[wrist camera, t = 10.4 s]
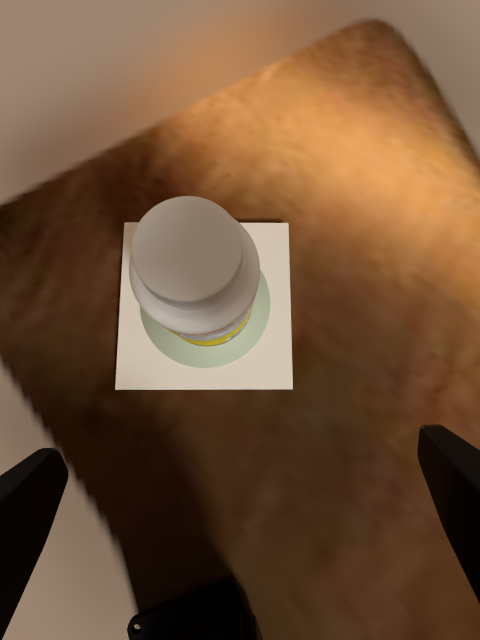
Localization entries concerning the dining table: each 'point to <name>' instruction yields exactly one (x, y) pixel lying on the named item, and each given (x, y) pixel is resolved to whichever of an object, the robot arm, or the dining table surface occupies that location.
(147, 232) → the supplement bottle
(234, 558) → the dining table surface
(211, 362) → the card
